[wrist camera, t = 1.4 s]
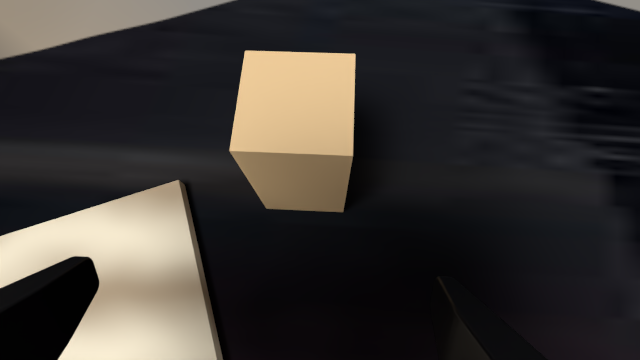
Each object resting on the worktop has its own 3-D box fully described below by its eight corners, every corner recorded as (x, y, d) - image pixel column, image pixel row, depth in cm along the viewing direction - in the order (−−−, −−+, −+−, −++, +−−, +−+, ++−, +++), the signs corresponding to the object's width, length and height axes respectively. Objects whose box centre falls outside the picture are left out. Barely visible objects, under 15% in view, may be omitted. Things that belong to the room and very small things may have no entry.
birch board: (226, 377, 19) (221, 381, 18) (4, 461, 18) (-14, 469, 17) (184, 184, 23) (178, 179, 22) (0, 243, 22) (-15, 241, 21)
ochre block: (343, 212, 22) (353, 155, 14) (266, 208, 22) (229, 150, 14) (345, 142, 24) (355, 53, 15) (274, 139, 24) (245, 50, 16)
